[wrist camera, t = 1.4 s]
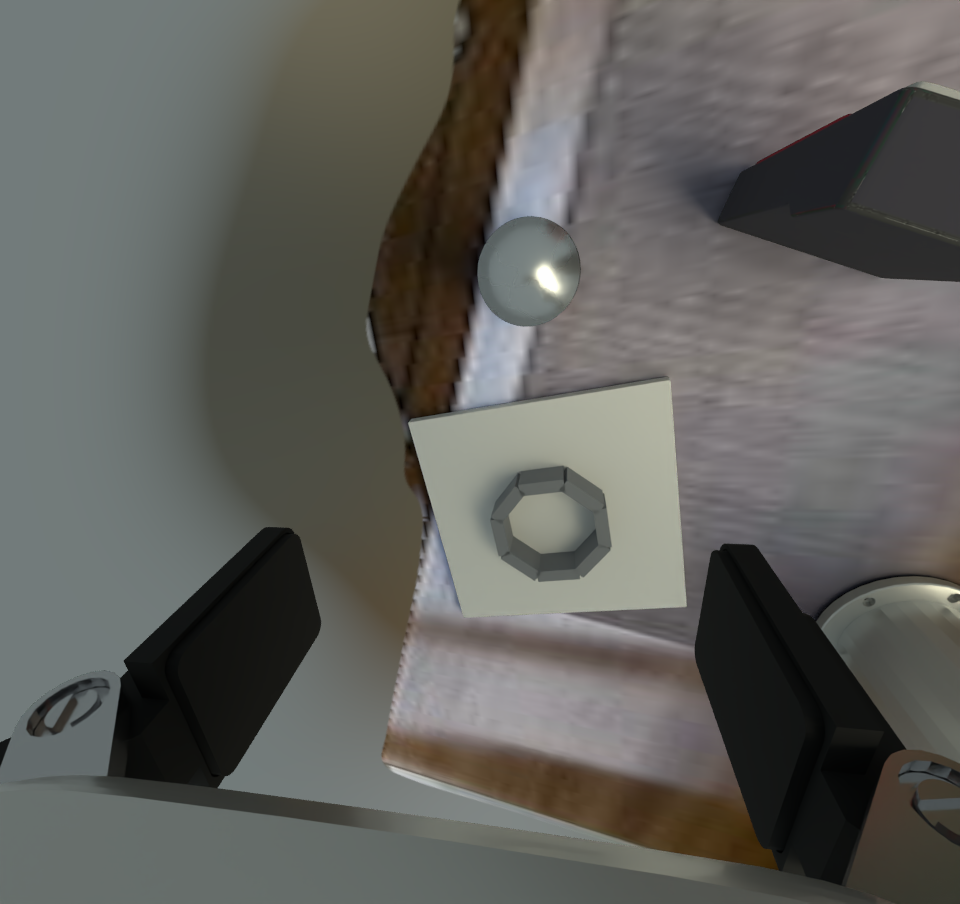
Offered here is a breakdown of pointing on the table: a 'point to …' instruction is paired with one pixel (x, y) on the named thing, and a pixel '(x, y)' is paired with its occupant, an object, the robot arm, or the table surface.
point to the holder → (558, 501)
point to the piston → (528, 271)
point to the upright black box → (866, 189)
